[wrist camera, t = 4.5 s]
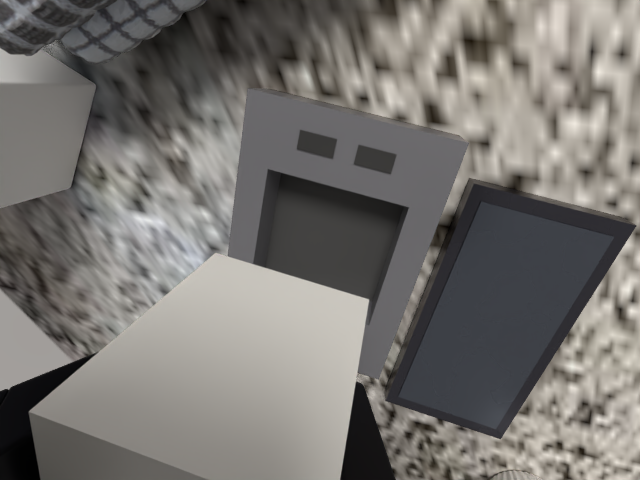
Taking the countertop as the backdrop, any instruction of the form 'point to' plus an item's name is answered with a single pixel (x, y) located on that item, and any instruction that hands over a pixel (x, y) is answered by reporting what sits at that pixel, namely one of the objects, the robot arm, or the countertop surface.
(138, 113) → the countertop surface
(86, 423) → the block
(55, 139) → the milk
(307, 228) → the grey tray
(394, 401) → the phone
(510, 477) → the white ribbed lump
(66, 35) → the towel
